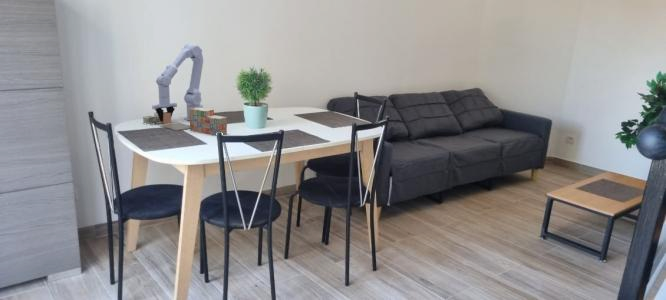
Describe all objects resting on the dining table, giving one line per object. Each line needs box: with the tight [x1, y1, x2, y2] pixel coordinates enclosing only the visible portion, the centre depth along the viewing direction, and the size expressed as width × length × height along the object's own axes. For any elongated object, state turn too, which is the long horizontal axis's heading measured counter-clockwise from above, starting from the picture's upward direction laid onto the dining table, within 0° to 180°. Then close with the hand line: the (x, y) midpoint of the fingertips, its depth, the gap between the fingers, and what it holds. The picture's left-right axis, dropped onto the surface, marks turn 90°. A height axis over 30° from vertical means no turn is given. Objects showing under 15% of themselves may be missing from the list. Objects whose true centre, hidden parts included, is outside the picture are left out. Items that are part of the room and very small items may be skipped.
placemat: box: [160, 122, 190, 132], centre depth 267 cm, size 12×16×1 cm
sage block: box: [142, 115, 157, 125], centre depth 274 cm, size 5×5×4 cm
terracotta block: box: [159, 111, 172, 125], centre depth 276 cm, size 4×4×6 cm
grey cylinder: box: [153, 112, 160, 123], centre depth 280 cm, size 5×5×5 cm
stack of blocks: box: [188, 107, 228, 136], centre depth 256 cm, size 21×6×12 cm, turn 60°
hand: (165, 120), depth 276 cm, fingers closed on terracotta block, 4 cm apart
